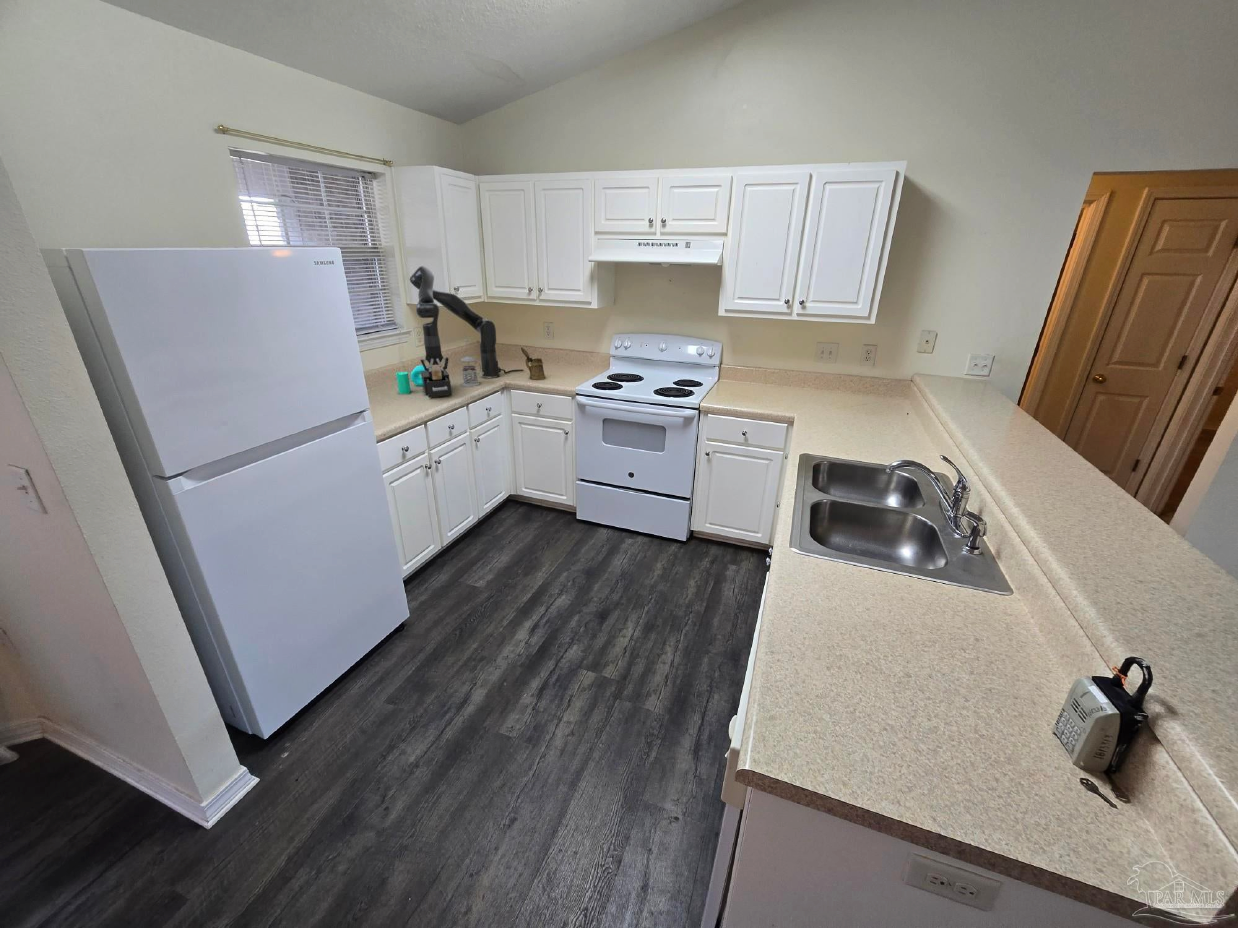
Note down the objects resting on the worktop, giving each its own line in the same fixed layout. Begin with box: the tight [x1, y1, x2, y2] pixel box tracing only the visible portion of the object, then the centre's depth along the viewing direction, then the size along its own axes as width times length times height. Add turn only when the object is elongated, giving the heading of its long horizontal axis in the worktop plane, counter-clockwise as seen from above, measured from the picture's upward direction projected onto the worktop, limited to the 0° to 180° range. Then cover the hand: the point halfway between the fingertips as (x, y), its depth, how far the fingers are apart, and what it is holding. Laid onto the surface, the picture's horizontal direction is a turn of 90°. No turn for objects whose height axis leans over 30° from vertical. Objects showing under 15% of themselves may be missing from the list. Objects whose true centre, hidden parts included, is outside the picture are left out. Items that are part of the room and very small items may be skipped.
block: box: [431, 368, 442, 380], centre depth 261 cm, size 4×4×4 cm
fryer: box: [420, 368, 451, 396], centre depth 273 cm, size 15×13×10 cm
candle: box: [395, 369, 412, 395], centre depth 269 cm, size 6×6×12 cm
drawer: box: [426, 377, 453, 399], centre depth 263 cm, size 18×12×8 cm, turn 24°
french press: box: [460, 338, 482, 387], centre depth 285 cm, size 10×12×25 cm
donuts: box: [410, 364, 429, 387], centre depth 286 cm, size 10×10×10 cm
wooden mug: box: [520, 347, 546, 381], centre depth 300 cm, size 9×14×18 cm, turn 84°
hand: (437, 378), depth 262 cm, fingers closed on block, 4 cm apart
